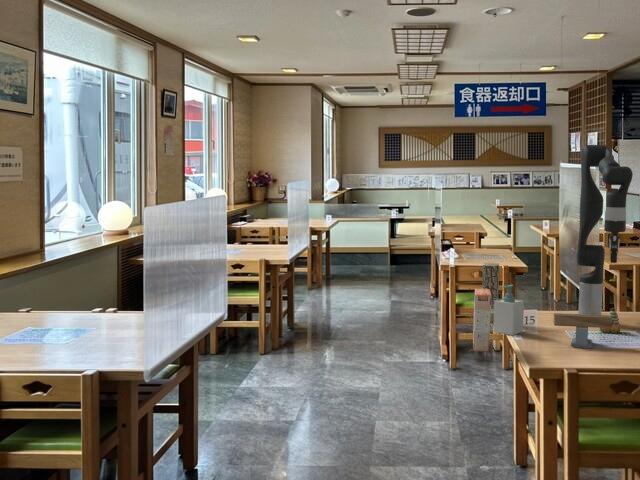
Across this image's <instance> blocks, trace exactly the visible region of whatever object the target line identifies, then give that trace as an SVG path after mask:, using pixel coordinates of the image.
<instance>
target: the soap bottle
mask: <svg viewBox="0 0 640 480" xmlns="http://www.w3.org/2000/svg"><path fill="white" fill-rule="evenodd" d="M512 287H514V284H508V285H504V286H503V287H502V288H503V289H506V291H507V293H505V296H503V298H498V300H495V301H494V322H493V333H496V334H502V335H508V336H515V335H518V334H521V333H523V332H524V311H525V310H524V308H525V307H524V305H525V302H524V300H522V299H516V298H515V296H514V294H513V293H512V291H513V290H512V289H513V288H512Z"/></svg>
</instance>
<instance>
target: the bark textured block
mask: <svg viewBox="0 0 640 480" xmlns="http://www.w3.org/2000/svg"><path fill="white" fill-rule="evenodd" d="M481 281H482V285H481V289H490V292H491V315H490V323H494V301H495V300H499V289H500V287H499V286H500V285H499V282H500V263H499V262H483V263H482V280H481Z"/></svg>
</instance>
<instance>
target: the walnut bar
mask: <svg viewBox="0 0 640 480" xmlns="http://www.w3.org/2000/svg"><path fill="white" fill-rule="evenodd" d="M553 325H554V326H555V327H556V326H559V327H573V328H574V327H575V328H576V327H588V328H593V329H595V328H596V329H600V328H612V317H611V316H610V315H609V314H605V315H604V314H601V315H588V314H578V313H563V312H562V313H561V312H554V313H553Z"/></svg>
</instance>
